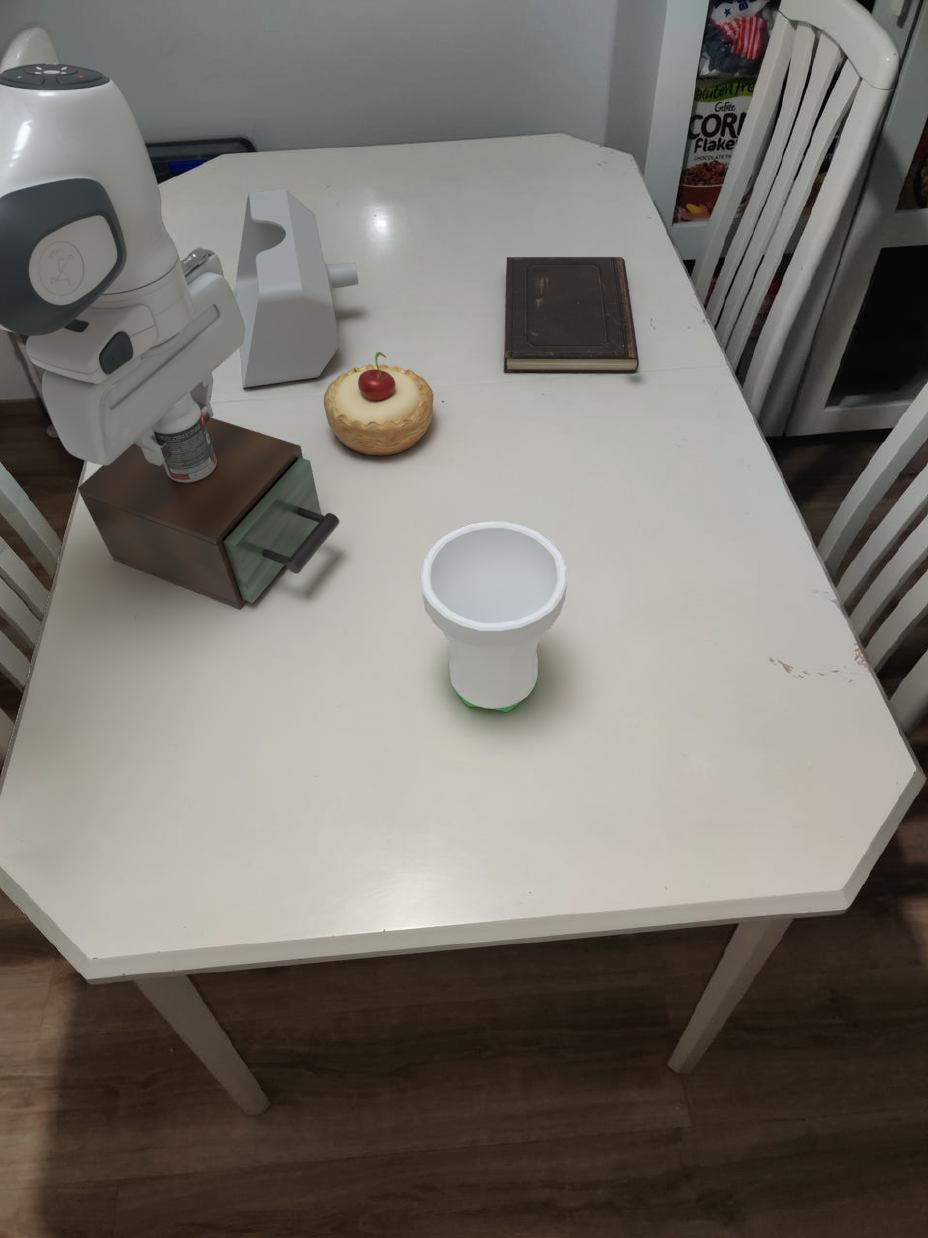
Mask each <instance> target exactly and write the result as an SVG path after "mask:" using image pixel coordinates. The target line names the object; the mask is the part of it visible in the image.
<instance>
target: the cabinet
mask: <svg viewBox="0 0 928 1238" xmlns="http://www.w3.org/2000/svg"><path fill="white" fill-rule="evenodd" d="M205 425H206V428H207V432H208V434H209V438H210V441H211V444H212V447H213V450H214V453H215V456H216V460H217V463H216V467H215V469H214V470H213V472H212V473H211V474H210V475H208V476H207V477H205V478H203V479H201V480H198V481H195V482H189V483H183V482H178V481H175V480H173V479H171V478H170V477H169V476H168V475H167V473H166V471H165V469H164V466H163V464H162V465H161V466H158V465H155V464H152V463H150V462H148V461H147V459H146V458H145V456H144V453H143V451H142V448H141V447H139V446H138V445H136V444H134V443H133V444H132V445H131V446H130V447H129V448H128V449H127V450H125V451H124V452H123V453H122V454H121V455H120V456H119V457H118V458H117V459H116V460H115V461H113V462H112V463H111V464H110V465H106V466H104V465H100V467H99V468H98V469H97V470H95V472H93V474H91V475H90V476H89V477H88V478H87V479H85V481H84V482H83V483H82V484H80V485H79V486H78V487H77V490H78V493H79V495H80V497H81V499H82V500H83V503H84V505H85V507H86V509H87V512H88V513H89V515H90V517H91V519H92V521H93V523H94V524H95V526H96V529H97V531H98V533H99V536H100V537H101V539H102V541H103V543H104V545H105V546H106V549H107V551H108V553H109V554H110V557H111V559H112V560H113V561H115V562H118V563H121V564H124V565H126V566H129V567H132V568H134V569H136V570H138V571H141V572H144V573H147V574H148V575H151V576H154V577H157V578H159V579H162V580H165V581H167V582H170V583H172V584H174V585H177V586H179V587H182V588H185V589H187V590H189V591H192V592H195V593H197V594H200V595H202V596H205V597H206V598H210V599H213V600H215V601H218V602H220V603H223V604H226V605H228V606H231V607H233V608H236V609H238V610H241V609H242V608H244V606H245V605H246V603H247V602H248V601H246V600H244V599H243V598H242V595H241V592H240V589H239V586H238V583H237V580H236V578H235V575H234V572H233V569H232V566H231V563H230V560H229V557H228V555H227V552H226V549H225V546H224V543H223V540H222V539H223V538H224V537H225V536H226V535H227V534H228V533H229V531H230V530H231V529H232V528H233V527H234V526H235V525H236V524H237V523H238V522H239V520H240V519H241V518H242V517H243V516H244V515H245V514H246V513H247V512H248V511H249V509H250V508H251V507H252V506H253V505H254V504H255V503H256V502H257V501H258V500H259V498H260V497H261V496H262V495H263V494H264V493H265V492H266V491H267V490H268V489H269V487H270V486H271V485H272V484H273V483H274V482H275V481H276V480H277V479H278V478H279V476H280V475H281V474H282V473H283V472H284V471H285V470H286V469H287V471H288V470H289V469H290V468H291V467H292V466H293V464H294V463H295V462H296V461H297V460H298V459H299V458H304V456H303V455H304V454H303V452H302V447H301V445H299V444H296V443H293V442H290V441H286V440H284V439H280V438H277V437H274V436H271V435H268V434H265V433H261V432H258V431H255V430H252V429H249V428H245V427H243V426H239V425H236V424H234V423H230V422H227V421H224V420H220V419H218V418H216V417H215V418H214V417H212V418H211V419H210V420H208V421H207V422H206V423H205ZM149 438H150V437H149Z"/></svg>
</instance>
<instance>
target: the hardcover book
mask: <svg viewBox="0 0 928 1238" xmlns="http://www.w3.org/2000/svg"><path fill="white" fill-rule="evenodd" d="M626 266H627V265H626V260H625V259H624V258H623V257H622V256H506V269H505V271H506V272H505V304H504V306H505V309H504V344H503V345H504V346H503V347H504V349H503V361H504V363H503V374H504V373H505V374H506V373H508V374H509V373H510V374H512V373H513V374H514V373H515V374H518V373H519V374H527V373H528V374H532V373H533V374H634V373H635V372H636V371H638V369H639V364H640V359H639V351H638V345H637V337H636V330H635V324H634V323H635V322H634V317H633V308H632V302H631V295H630V288H629V280H628V273H627V267H626Z"/></svg>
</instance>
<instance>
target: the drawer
mask: <svg viewBox="0 0 928 1238" xmlns="http://www.w3.org/2000/svg"><path fill="white" fill-rule="evenodd" d="M339 525H340V519H339V517H338V516H337V515H336V514H334V513H333V512H327V513H326V514H322V509H321V506H320V502H319V496H318V491H317V486H316V482H315V477H314V472H313V467H312V463H311V460H309V459H306V458H304V457H303V458H299V459H298V460H297V461H296V462H295V463H294V464H293V466H292V467H291V468H290V469H289V470H288V471H287V469H286V470H285V471H284V472H283V473H282V474H281V475H280V476H279V478H278V479H277V480H276V481H275V482H274V483H273V484H272V485H271V486H270V487H269V489H268V490H267V491H266V492H265V493H264V494H263V495H262V496H261V497H260V498H259V500H258V501H257V502H256V503H255V504H254V505H253V506H252V507H251V508H250V509H249V511H248V512H247V513H246V514H245V515H244V516H243V517H242V518H241V519H240V520H239V522H238V523H237V524H236V525H235V526H234V527H233V528H232V529H231V530H230V531H229V533H228V534H227V535H226V536H225V537H224V538H223V539H222V540H223V543H224V546H225V549H226V552H227V555H228V557H229V560H230V563H231V566H232V569H233V572H234V575H235V578H236V580H237V583H238V586H239V589H240V592H241V595H242V598H243V599H244V600H246V601H247V602H249V603H252V604H254V603H255V601H256V600H257V599H258V598H259V597H260V595H262V593H263V592H265V590H266V588H267V587H268V586H269V585H270V584H271V582H272V581H273V580H274V578H275V577H276V576H278V574H279V573H280V571H281V570H282V569H283V568H284V567H285V566H286V568H287V569H288V570H289V571H290V572H291V573H293V574H297V575H298V574H300V573H301V572H302V570H303V569H304V568H305V567H306V565H308V563H309V562H310V560H311V559H312V558H313V557H314V555H315V554H316V553H317V552H318V551H319V550H320V548H321V547H322V545H324V543H325V542H326V541H327V539H328V538H329V537H330V536H331V534H332V533H333V532H334V531H335V529H336V528H337V527H338V526H339Z"/></svg>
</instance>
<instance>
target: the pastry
mask: <svg viewBox="0 0 928 1238" xmlns="http://www.w3.org/2000/svg"><path fill="white" fill-rule="evenodd" d="M379 356H382V357H384V358H385V359H387V356H386V355H385V354H384V353H382V352H380V351H377V352H376V353H375V356H374V362H375V365H373V364H371V363H369V364H366V365H364V366H361V367H352V368H351V369H350V370H349V371H347V372H342V373H340V375H339V376H338V377H336V378H335V379H334V380H332V381H331V383H330V384H329V385H328V386H327V388H326V390H325V392H324V395H323V407H324V411H325V416H326V419H327V423H328V425H329V427H330V429H331V430H332V432H333V433H334V435H335V436H336V438H338V440H339V441H341V442H342V443H343V444H344V445H345V446H346V447H348V448H349V449H350V450H353V451H355V452H357V453H360V454H364V455H368V456H390V455H394V454H395V455H396V454H399V453H402V452H404V451H407V450H409V449H410V448H412V447H413V446H415V445H416V444H417V443H418V442H419V441H420V439H422V438H423V436H424V434H426V432H427V430H428V428H429V426H430V423H431V421H432V417H433V409H434V393H433V390H432V387H431V386H430V384H429V383H428V382H427V381H426V380H425V379H424V378H423V377H422V376H420V375H418V374H416V373H415V372H414V371H413V370H411V369H406V370H405V369H403V368H402V367H401V366H398V365H394V366H393V367H390V366H388V365H387V364H383V363H382V364H378V358H379Z"/></svg>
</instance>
